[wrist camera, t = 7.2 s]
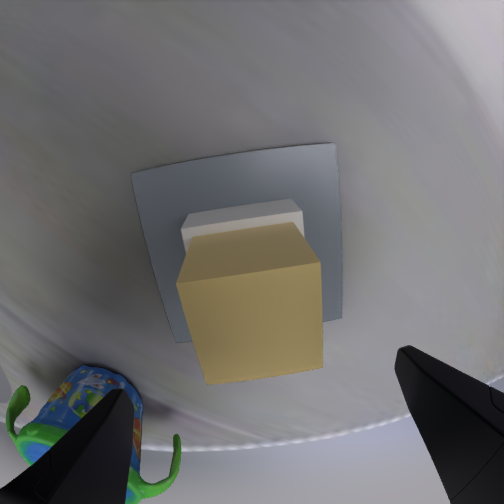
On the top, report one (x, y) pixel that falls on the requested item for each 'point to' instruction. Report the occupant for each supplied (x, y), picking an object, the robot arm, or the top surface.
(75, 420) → the snack cup
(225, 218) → the white brick
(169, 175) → the baseplate
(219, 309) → the ochre brick
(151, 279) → the top surface
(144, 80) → the top surface
